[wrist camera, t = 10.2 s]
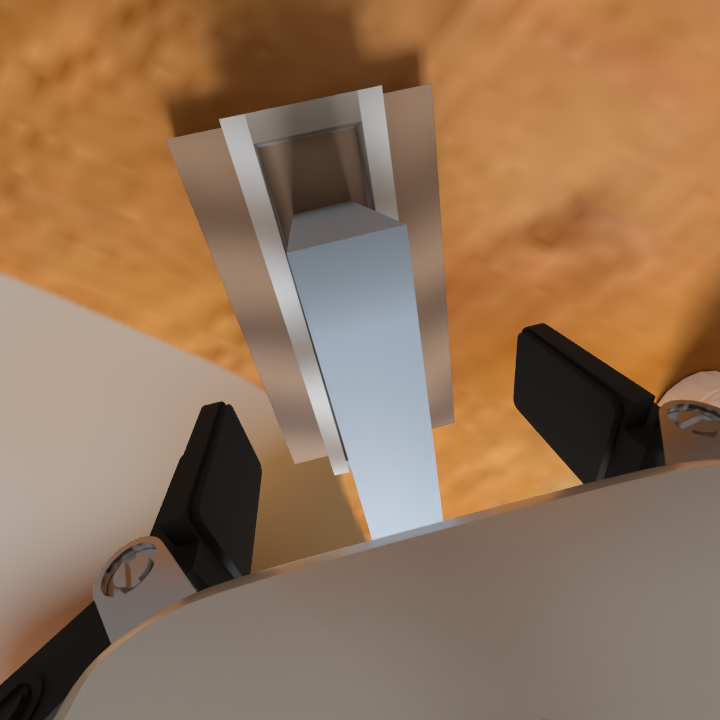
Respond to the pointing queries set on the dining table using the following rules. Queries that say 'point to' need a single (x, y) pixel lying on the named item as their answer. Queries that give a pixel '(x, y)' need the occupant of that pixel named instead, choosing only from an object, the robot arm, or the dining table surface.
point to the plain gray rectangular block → (370, 357)
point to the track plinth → (309, 192)
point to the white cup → (696, 389)
